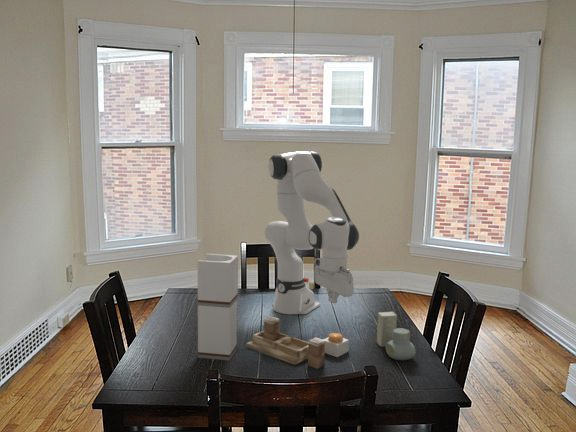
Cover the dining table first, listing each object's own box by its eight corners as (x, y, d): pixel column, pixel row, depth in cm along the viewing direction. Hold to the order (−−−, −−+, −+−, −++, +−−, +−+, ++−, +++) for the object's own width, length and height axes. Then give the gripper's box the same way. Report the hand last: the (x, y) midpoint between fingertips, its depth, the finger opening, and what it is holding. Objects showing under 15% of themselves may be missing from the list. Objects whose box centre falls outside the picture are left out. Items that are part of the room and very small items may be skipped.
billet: (314, 361, 200) (315, 337, 199) (324, 365, 198) (325, 340, 196) (307, 365, 197) (308, 340, 196) (317, 368, 195) (317, 343, 193)
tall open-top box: (237, 348, 210) (238, 255, 204) (229, 360, 199) (229, 262, 194) (207, 345, 212) (207, 253, 206) (198, 357, 201) (197, 260, 195)
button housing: (332, 346, 214) (333, 334, 213) (348, 351, 210) (348, 339, 209) (321, 351, 209) (322, 340, 208) (337, 357, 204) (337, 345, 204)
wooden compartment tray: (271, 336, 222) (272, 310, 220) (319, 352, 208) (320, 325, 206) (246, 346, 212) (246, 319, 210) (294, 365, 197) (295, 336, 195)
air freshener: (382, 352, 210) (384, 326, 208) (403, 350, 212) (404, 324, 210) (396, 364, 199) (397, 337, 198) (417, 362, 202) (419, 335, 200)
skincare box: (391, 341, 220) (393, 311, 218) (395, 346, 216) (397, 315, 214) (376, 342, 219) (377, 311, 217) (379, 346, 214) (381, 315, 212)
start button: (333, 340, 212) (334, 331, 212) (344, 344, 209) (345, 335, 208) (325, 344, 208) (326, 335, 208) (336, 348, 205) (337, 339, 205)
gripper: (359, 270, 193) (357, 309, 195) (326, 257, 211) (325, 293, 213) (343, 271, 190) (341, 312, 192) (311, 258, 208) (310, 295, 210)
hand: (332, 302), depth 203 cm, fingers closed
